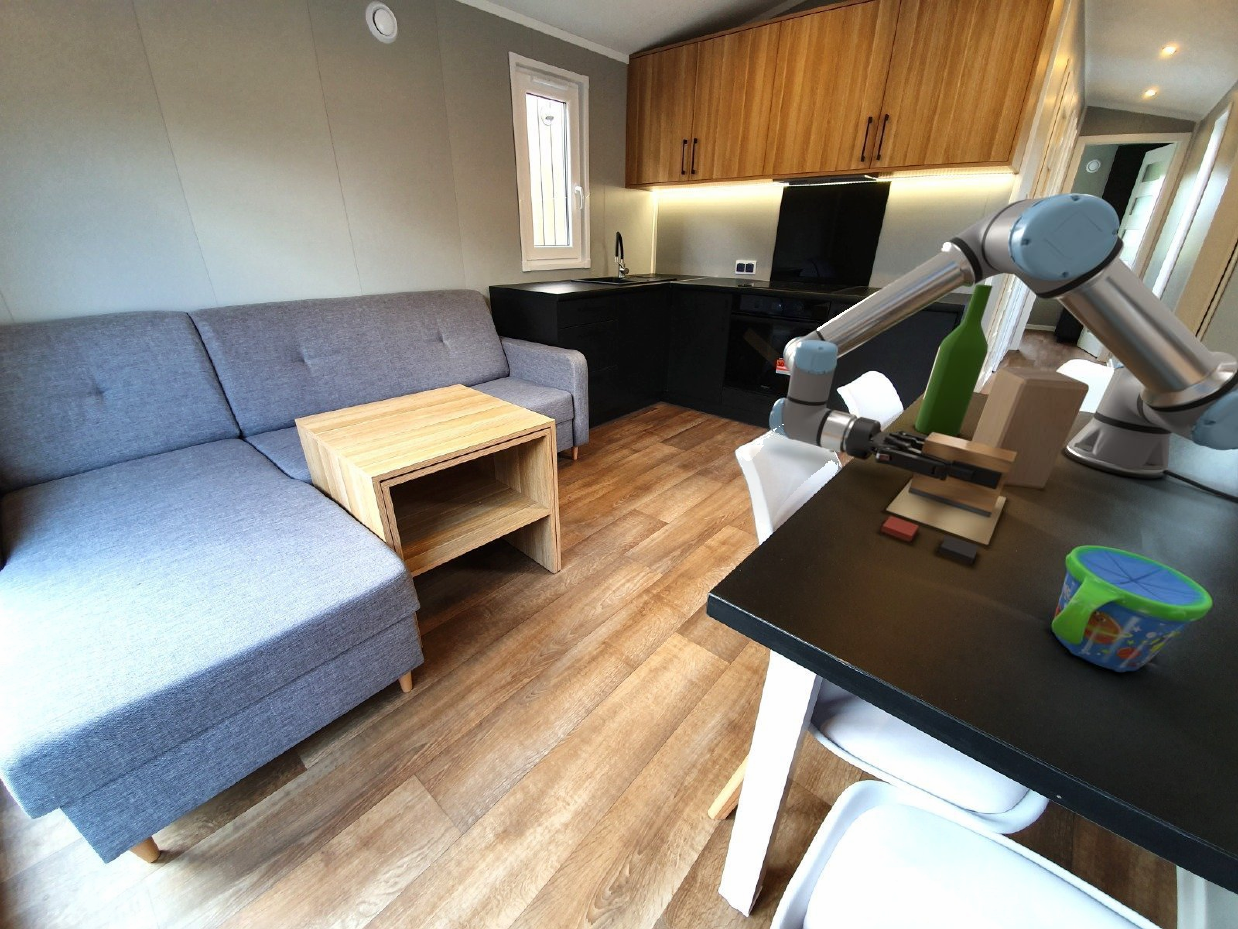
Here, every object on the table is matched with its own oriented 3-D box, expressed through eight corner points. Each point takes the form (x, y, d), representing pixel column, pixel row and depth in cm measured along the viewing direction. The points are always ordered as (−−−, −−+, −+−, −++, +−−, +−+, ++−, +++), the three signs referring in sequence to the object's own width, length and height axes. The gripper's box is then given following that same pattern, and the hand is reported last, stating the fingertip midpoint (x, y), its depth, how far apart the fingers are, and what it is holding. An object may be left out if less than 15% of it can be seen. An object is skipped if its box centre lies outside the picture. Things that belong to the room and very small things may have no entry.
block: (1045, 492, 88) (1094, 384, 80) (984, 485, 90) (1026, 379, 82) (1016, 468, 97) (1058, 369, 89) (961, 463, 99) (997, 365, 90)
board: (1005, 500, 85) (1006, 497, 85) (986, 547, 71) (987, 544, 71) (916, 474, 93) (917, 472, 93) (884, 512, 80) (885, 509, 80)
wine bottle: (921, 421, 121) (965, 282, 107) (963, 432, 115) (1015, 286, 101) (908, 429, 116) (953, 283, 102) (951, 441, 110) (1004, 288, 96)
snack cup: (1095, 606, 60) (1135, 537, 56) (1203, 674, 51) (1261, 598, 47) (993, 623, 57) (1027, 551, 53) (1089, 700, 48) (1141, 620, 43)
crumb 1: (916, 533, 74) (919, 525, 74) (909, 544, 72) (912, 536, 71) (888, 523, 77) (890, 515, 76) (880, 533, 74) (882, 525, 73)
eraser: (994, 506, 82) (1017, 452, 77) (989, 518, 78) (1013, 461, 74) (915, 482, 89) (932, 431, 85) (907, 492, 86) (925, 439, 81)
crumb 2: (975, 555, 70) (979, 546, 69) (970, 567, 67) (974, 558, 66) (943, 543, 72) (946, 535, 71) (937, 555, 69) (940, 546, 69)
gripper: (863, 441, 99) (1001, 478, 85) (829, 467, 87) (983, 516, 73) (872, 406, 96) (1017, 438, 82) (838, 428, 84) (1002, 471, 70)
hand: (1001, 475), depth 78 cm, fingers closed on eraser, 5 cm apart
